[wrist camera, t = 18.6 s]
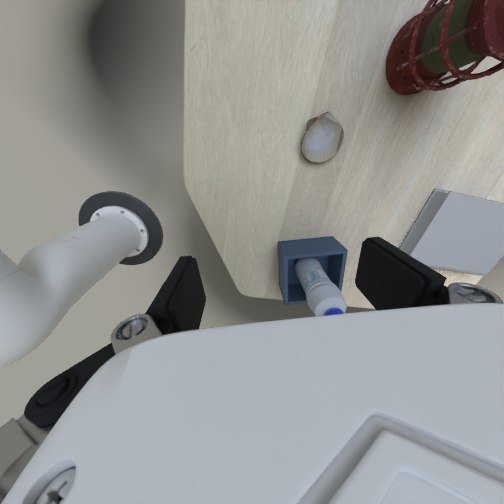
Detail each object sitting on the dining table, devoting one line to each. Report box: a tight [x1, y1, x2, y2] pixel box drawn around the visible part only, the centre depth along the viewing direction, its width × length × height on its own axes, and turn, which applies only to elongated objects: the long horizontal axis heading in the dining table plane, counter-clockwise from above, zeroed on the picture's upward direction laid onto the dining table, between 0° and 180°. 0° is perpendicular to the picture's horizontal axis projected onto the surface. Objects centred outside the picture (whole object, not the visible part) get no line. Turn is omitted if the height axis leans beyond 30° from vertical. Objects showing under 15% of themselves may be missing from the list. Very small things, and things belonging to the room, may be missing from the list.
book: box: [399, 189, 504, 275], centre depth 47 cm, size 18×4×24 cm
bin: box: [278, 236, 348, 305], centre depth 48 cm, size 14×14×8 cm
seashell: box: [301, 112, 344, 163], centre depth 37 cm, size 8×3×8 cm
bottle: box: [294, 257, 346, 317], centre depth 41 cm, size 7×7×20 cm
